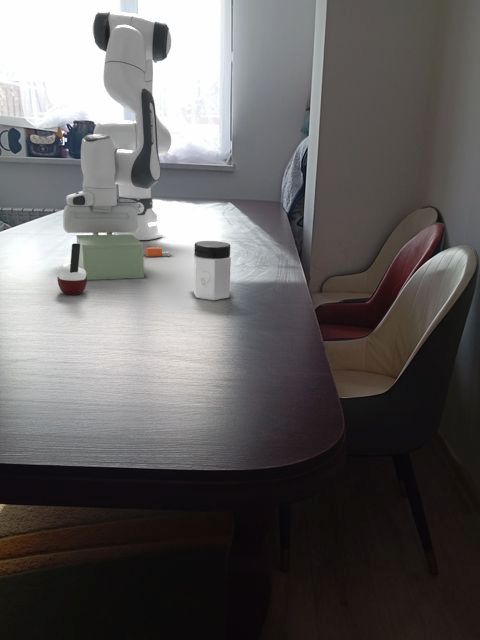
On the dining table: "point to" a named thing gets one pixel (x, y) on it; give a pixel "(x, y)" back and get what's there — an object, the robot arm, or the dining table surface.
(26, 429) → the dining table surface
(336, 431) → the dining table surface
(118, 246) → the pale green box
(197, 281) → the jar
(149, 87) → the robot arm
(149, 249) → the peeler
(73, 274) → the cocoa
